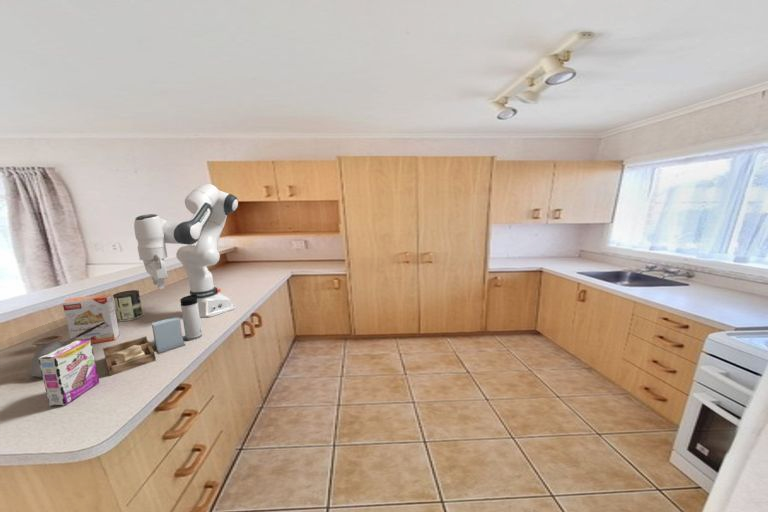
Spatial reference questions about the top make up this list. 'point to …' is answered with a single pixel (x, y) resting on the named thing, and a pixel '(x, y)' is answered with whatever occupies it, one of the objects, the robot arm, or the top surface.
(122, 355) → the upper offcut
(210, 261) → the robot arm
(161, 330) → the board
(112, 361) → the rack
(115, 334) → the cracker box
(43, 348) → the coffee pot
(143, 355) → the block
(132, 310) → the coffee can
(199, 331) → the travel mug
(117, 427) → the top surface
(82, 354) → the candy bar box
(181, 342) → the mat
